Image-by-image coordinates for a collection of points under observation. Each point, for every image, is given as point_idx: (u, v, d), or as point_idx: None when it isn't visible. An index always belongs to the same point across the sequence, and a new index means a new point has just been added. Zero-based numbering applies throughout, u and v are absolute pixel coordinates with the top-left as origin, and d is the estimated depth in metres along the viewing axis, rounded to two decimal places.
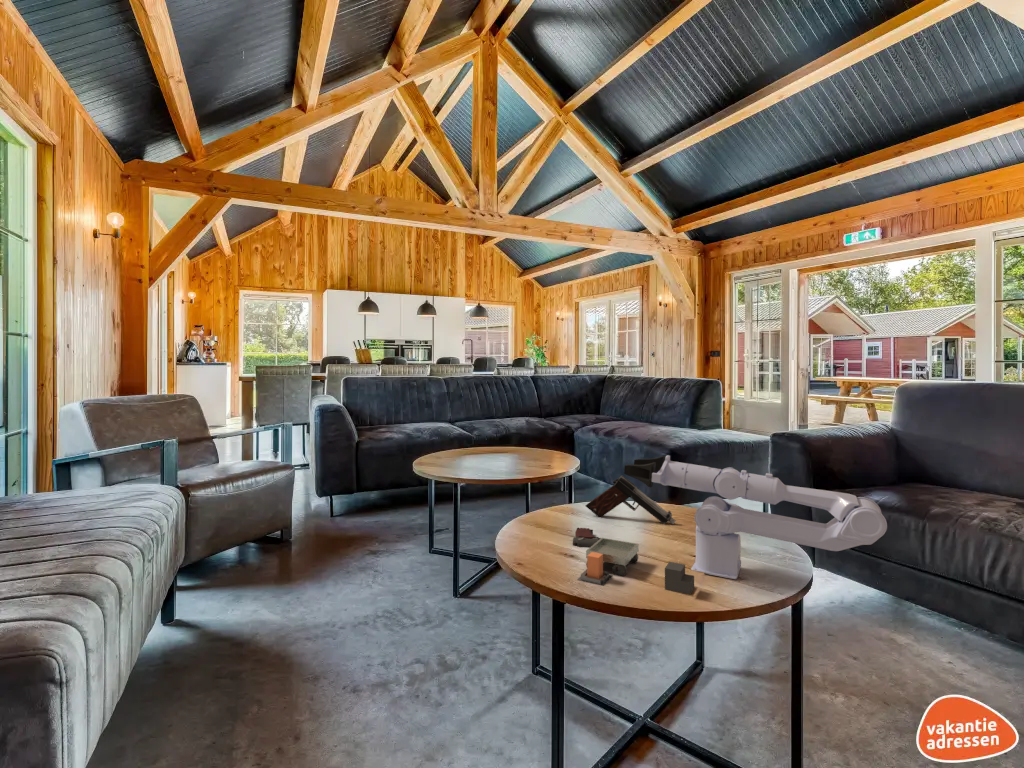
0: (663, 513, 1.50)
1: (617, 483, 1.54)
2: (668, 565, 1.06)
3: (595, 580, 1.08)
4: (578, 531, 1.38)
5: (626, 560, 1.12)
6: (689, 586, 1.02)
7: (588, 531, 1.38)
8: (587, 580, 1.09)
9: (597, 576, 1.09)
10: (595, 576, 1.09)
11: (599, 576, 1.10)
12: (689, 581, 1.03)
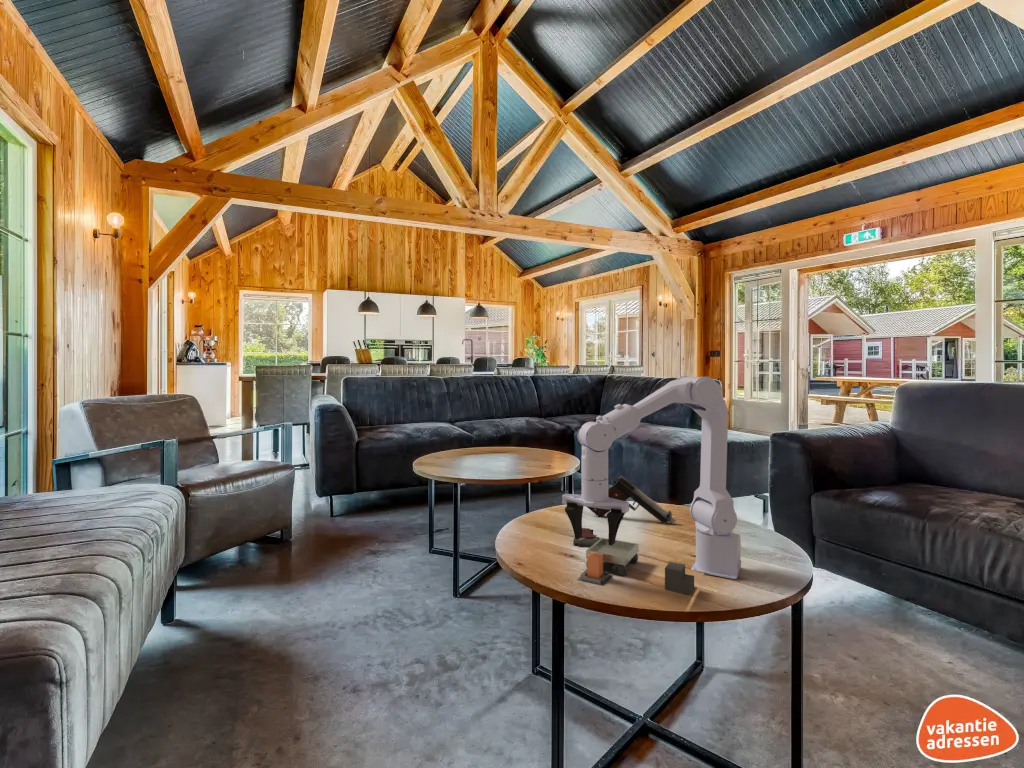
0: (663, 513, 1.50)
1: (617, 483, 1.54)
2: (668, 565, 1.06)
3: (595, 580, 1.08)
4: None
5: (626, 560, 1.12)
6: (689, 586, 1.02)
7: (588, 531, 1.38)
8: (587, 580, 1.09)
9: (597, 576, 1.09)
10: (595, 576, 1.09)
11: (599, 576, 1.10)
12: (689, 581, 1.03)
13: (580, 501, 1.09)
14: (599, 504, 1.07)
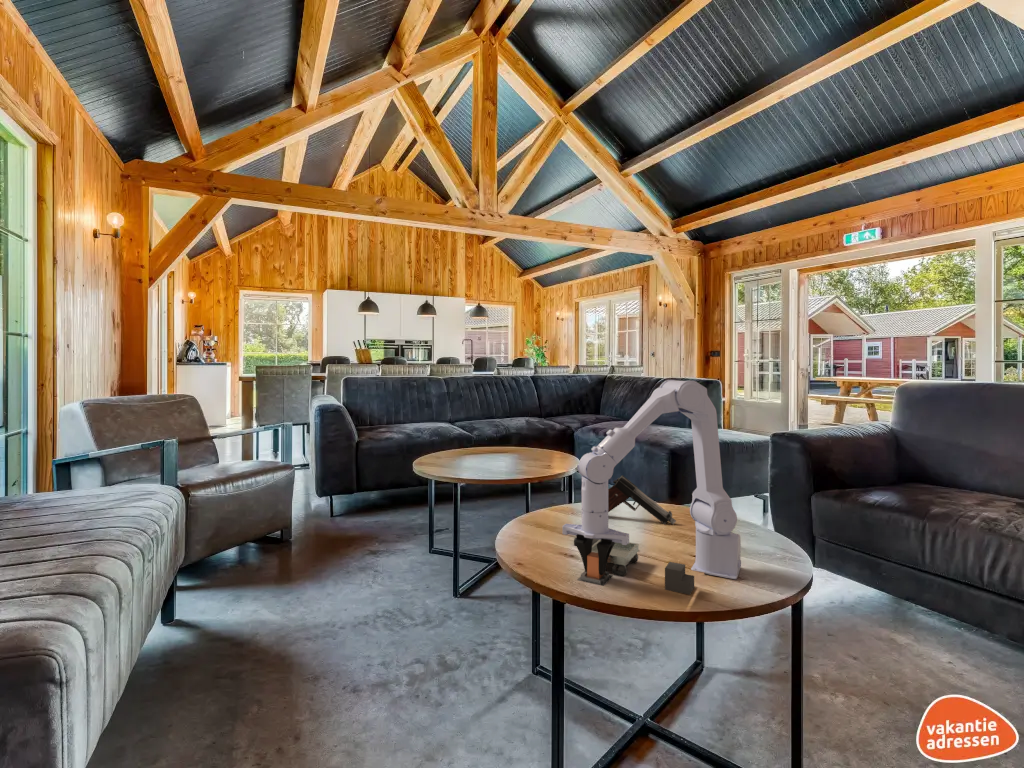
0: (663, 513, 1.50)
1: (617, 483, 1.54)
2: (668, 565, 1.06)
3: (595, 580, 1.08)
4: None
5: (626, 560, 1.12)
6: (689, 586, 1.02)
7: None
8: (587, 580, 1.09)
9: (597, 576, 1.09)
10: (595, 576, 1.09)
11: (599, 576, 1.10)
12: (689, 581, 1.03)
13: (580, 532, 1.10)
14: (599, 536, 1.07)
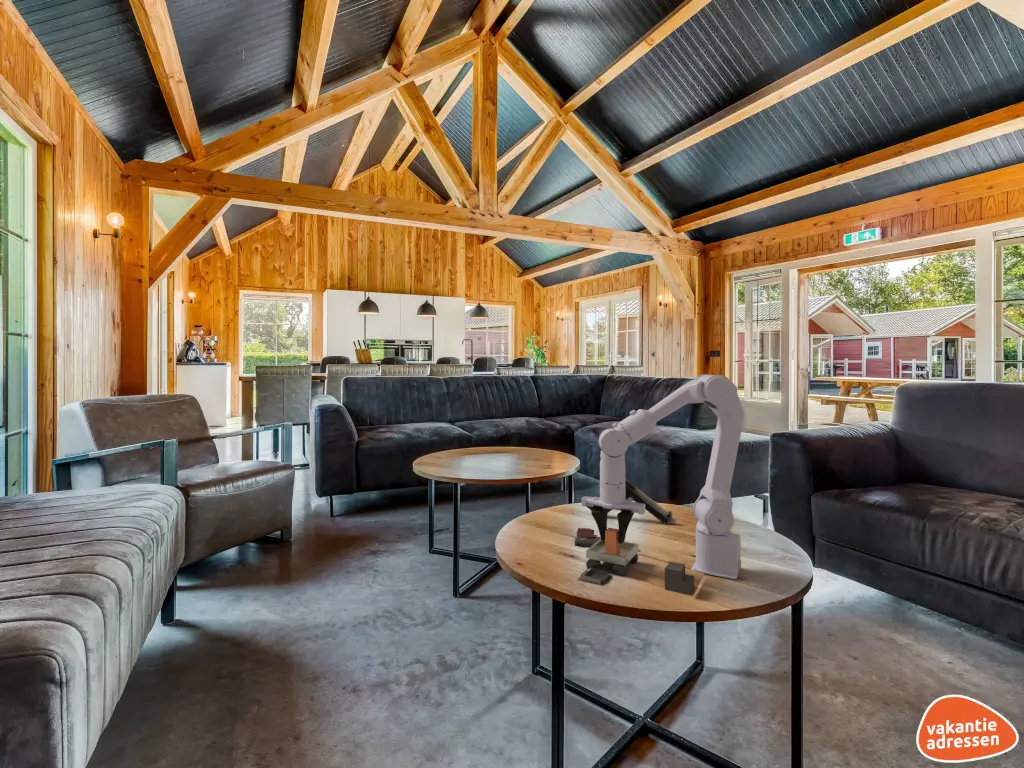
0: (664, 513, 1.50)
1: None
2: (668, 565, 1.06)
3: (595, 580, 1.08)
4: (579, 531, 1.38)
5: (626, 560, 1.12)
6: (689, 586, 1.02)
7: (589, 531, 1.38)
8: (587, 580, 1.09)
9: (615, 550, 1.16)
10: (613, 550, 1.16)
11: (616, 550, 1.16)
12: (689, 581, 1.03)
13: (599, 503, 1.16)
14: (617, 506, 1.14)
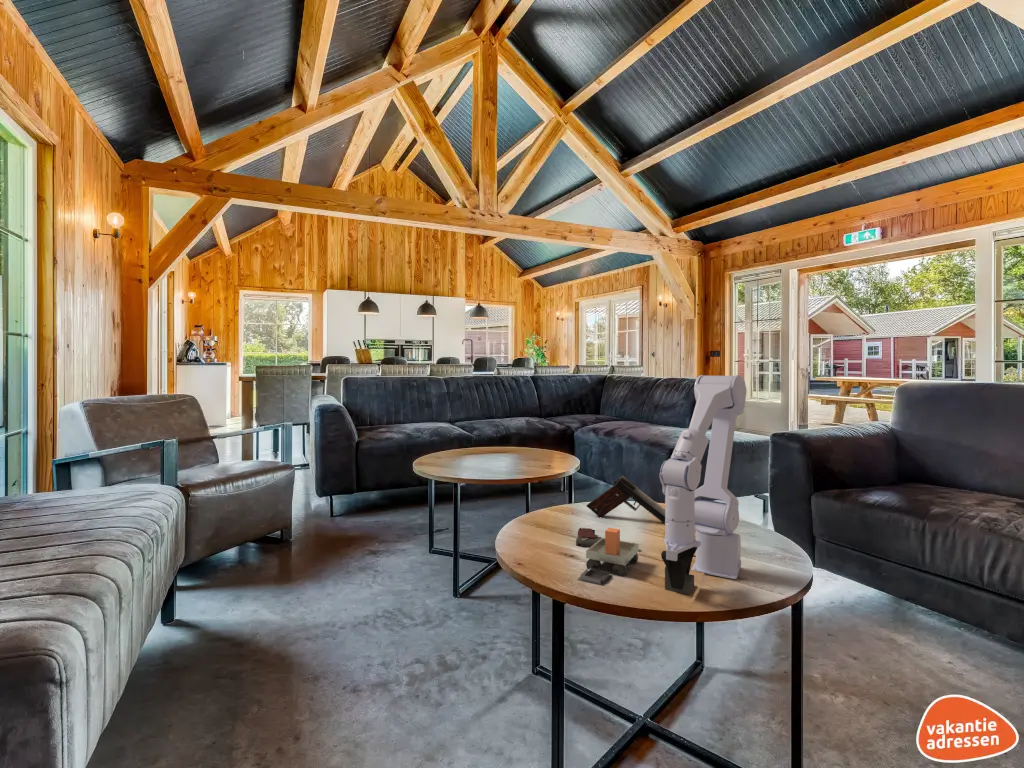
0: (664, 513, 1.50)
1: (618, 483, 1.54)
2: None
3: (595, 580, 1.08)
4: (580, 531, 1.38)
5: (626, 560, 1.12)
6: (689, 586, 1.02)
7: (590, 531, 1.38)
8: (587, 580, 1.09)
9: (615, 550, 1.16)
10: (613, 550, 1.16)
11: (616, 550, 1.16)
12: (689, 581, 1.03)
13: (689, 546, 1.02)
14: (694, 540, 1.05)
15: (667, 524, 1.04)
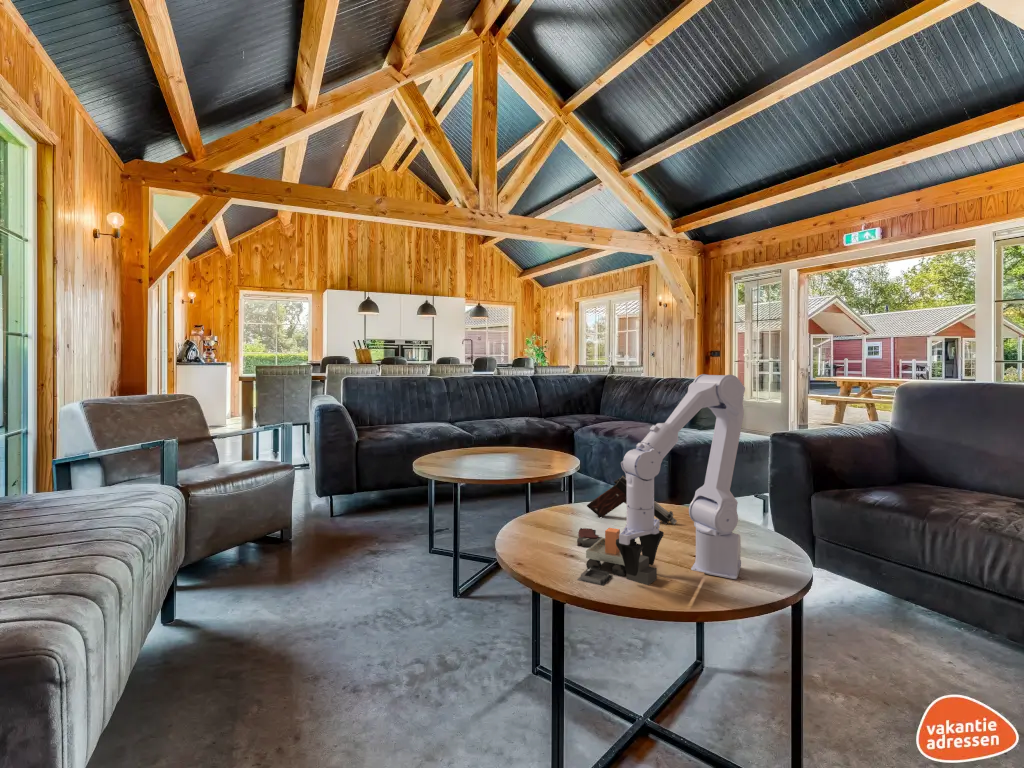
0: (664, 513, 1.50)
1: (618, 483, 1.54)
2: None
3: (595, 580, 1.08)
4: (581, 531, 1.38)
5: None
6: (647, 577, 1.07)
7: (591, 531, 1.38)
8: (587, 580, 1.09)
9: (615, 550, 1.16)
10: (613, 550, 1.16)
11: (616, 550, 1.16)
12: (648, 572, 1.07)
13: (645, 533, 1.07)
14: None
15: (627, 511, 1.10)
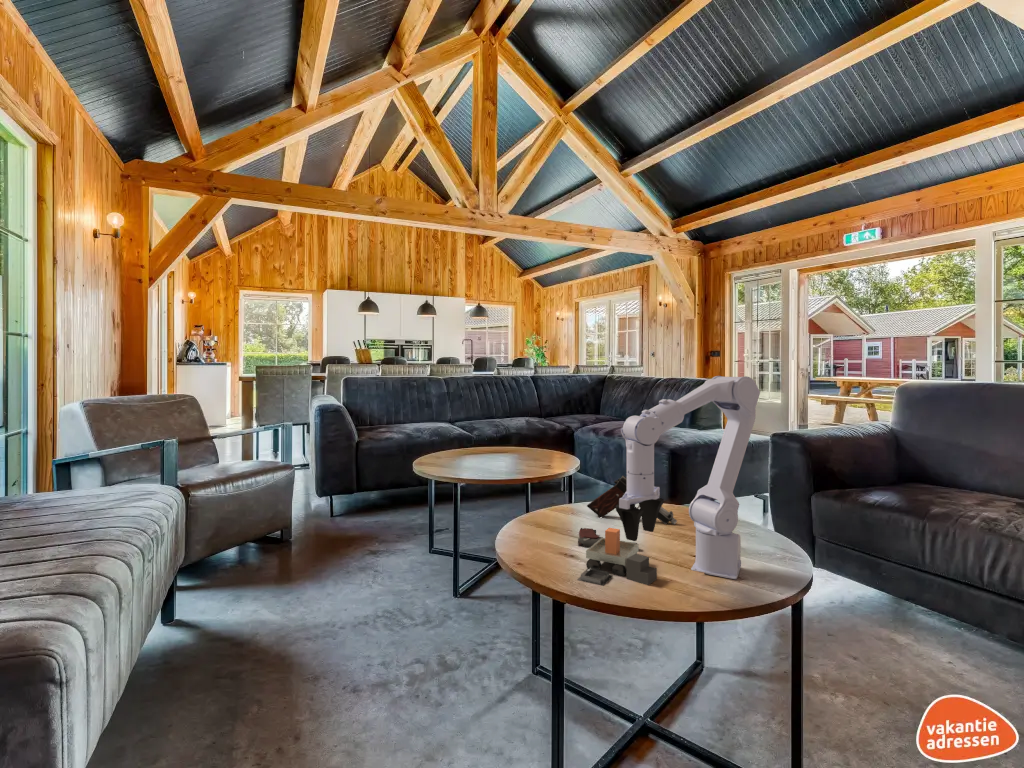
0: (664, 513, 1.50)
1: (618, 483, 1.54)
2: (632, 556, 1.11)
3: (595, 580, 1.08)
4: (582, 531, 1.38)
5: (626, 560, 1.12)
6: (647, 577, 1.07)
7: (592, 531, 1.38)
8: (587, 580, 1.09)
9: (615, 550, 1.16)
10: (613, 550, 1.16)
11: (616, 550, 1.16)
12: (648, 572, 1.07)
13: (645, 498, 1.06)
14: None
15: (627, 477, 1.09)
